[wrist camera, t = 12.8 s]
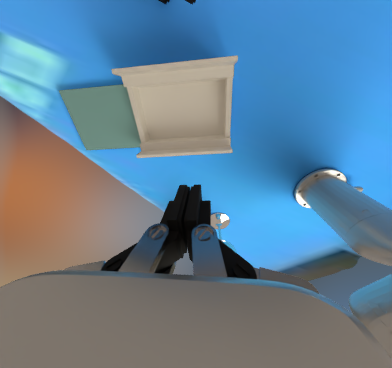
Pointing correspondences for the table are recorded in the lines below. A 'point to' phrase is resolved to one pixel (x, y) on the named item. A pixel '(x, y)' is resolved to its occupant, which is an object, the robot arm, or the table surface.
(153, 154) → the box
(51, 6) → the table surface
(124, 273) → the robot arm
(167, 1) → the toy gun
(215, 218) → the wineglass
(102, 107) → the lid
